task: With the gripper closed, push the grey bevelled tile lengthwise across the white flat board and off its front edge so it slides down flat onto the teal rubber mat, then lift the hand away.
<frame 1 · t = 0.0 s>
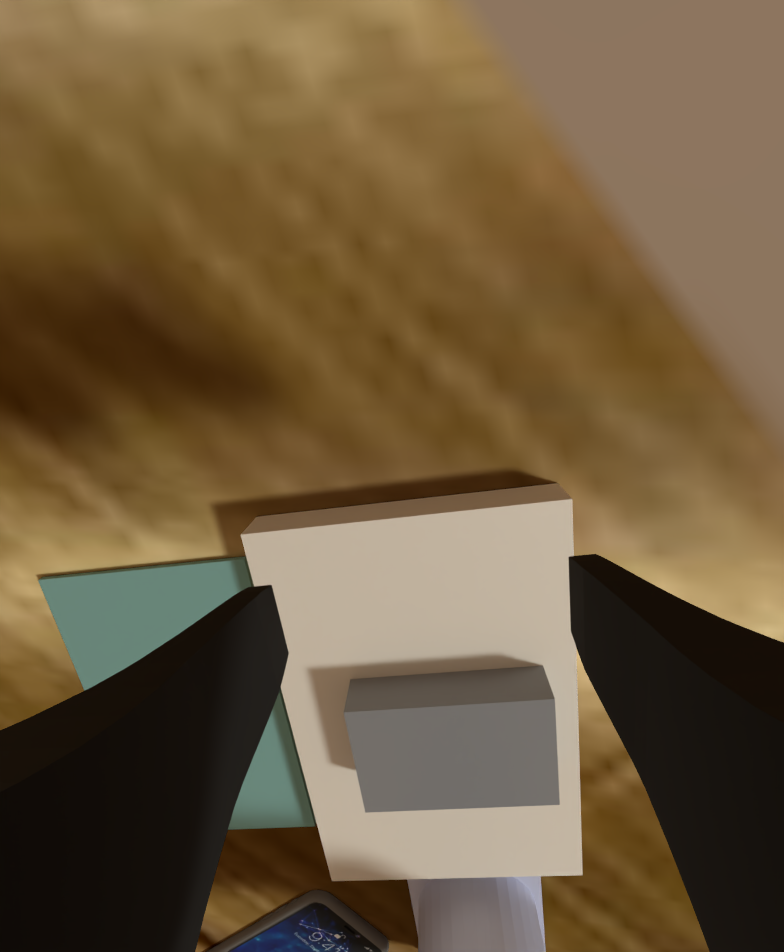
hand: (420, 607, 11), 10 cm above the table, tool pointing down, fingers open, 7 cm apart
grey bevelled tile: (451, 722, 22), point 2 cm above the table, touching white flat board
smartphone: (284, 946, 33), on the table
mat: (190, 709, 26), on the table
white flat board: (430, 693, 24), on the table
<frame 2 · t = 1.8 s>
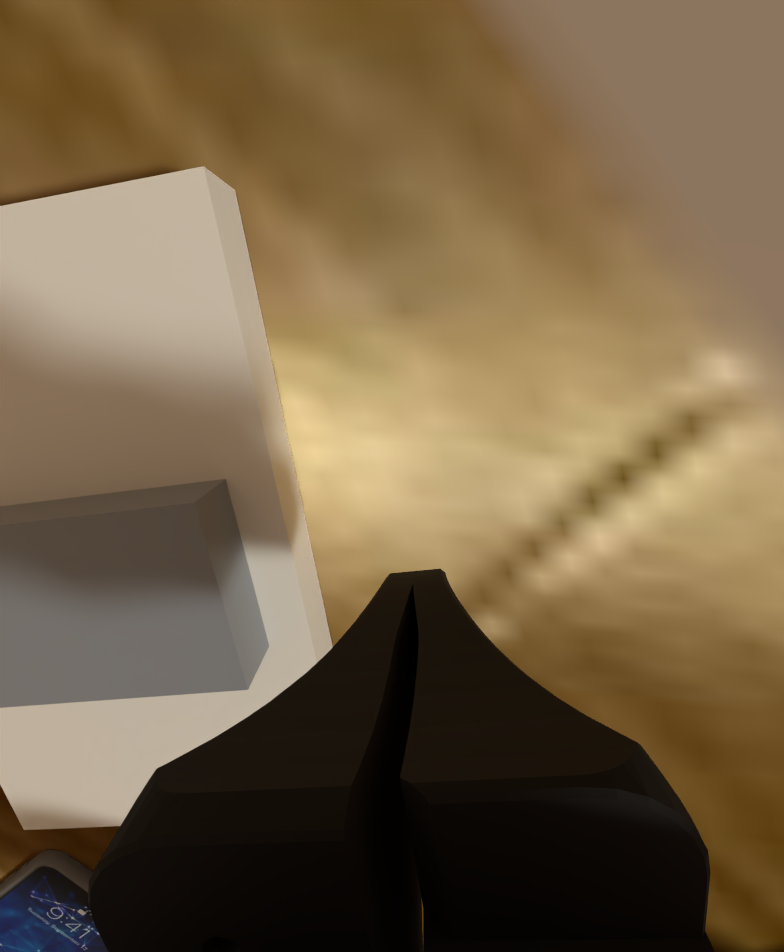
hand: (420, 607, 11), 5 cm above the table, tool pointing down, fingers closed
grey bevelled tile: (118, 580, 15), point 2 cm above the table, touching white flat board
smartphone: (38, 928, 25), on the table
white flat board: (127, 555, 17), on the table
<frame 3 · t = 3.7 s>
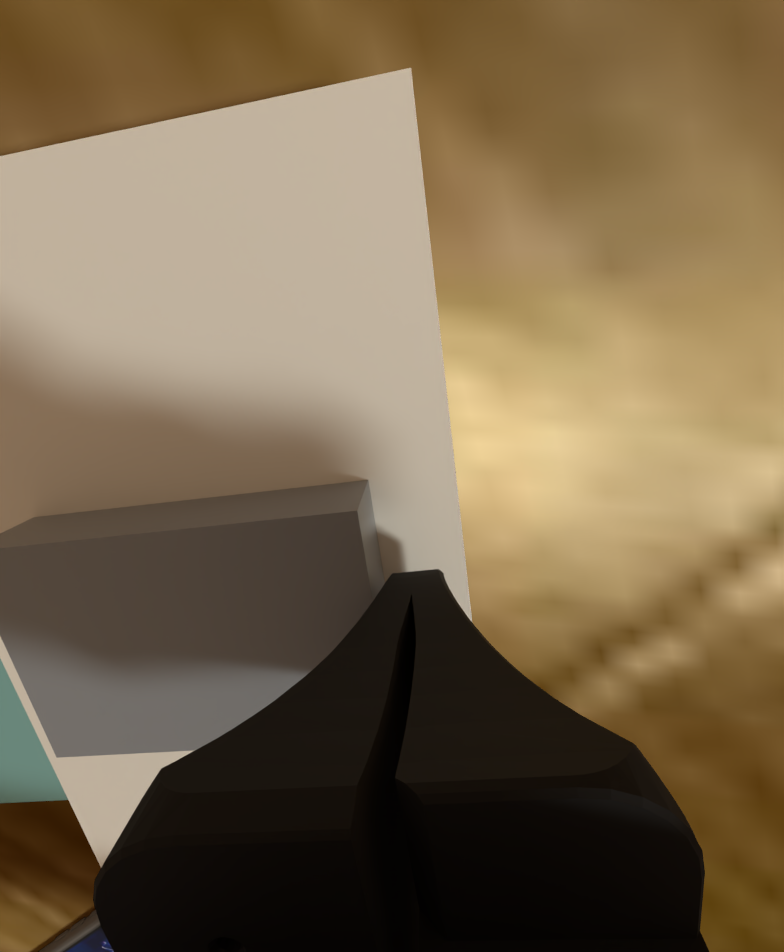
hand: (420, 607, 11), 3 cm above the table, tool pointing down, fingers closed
grey bevelled tile: (223, 601, 13), point 2 cm above the table, touching white flat board, gripper
white flat board: (239, 568, 14), on the table
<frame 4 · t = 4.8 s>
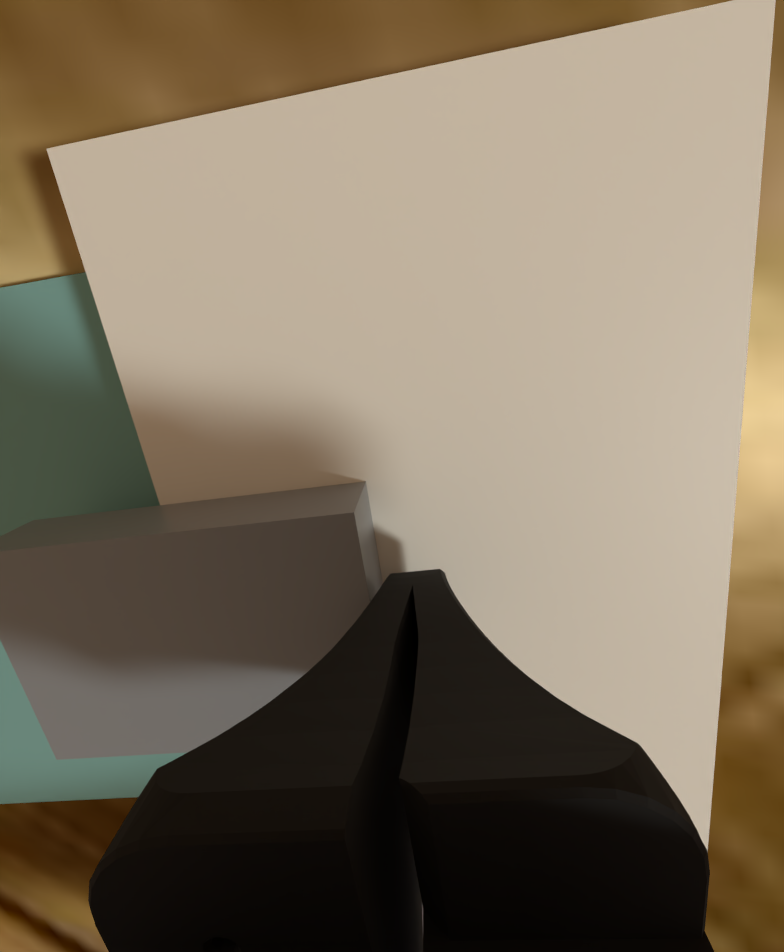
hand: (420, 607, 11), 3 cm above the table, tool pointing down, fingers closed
grey bevelled tile: (222, 602, 13), point 2 cm above the table
mat: (38, 590, 15), on the table
white flat board: (442, 548, 14), on the table
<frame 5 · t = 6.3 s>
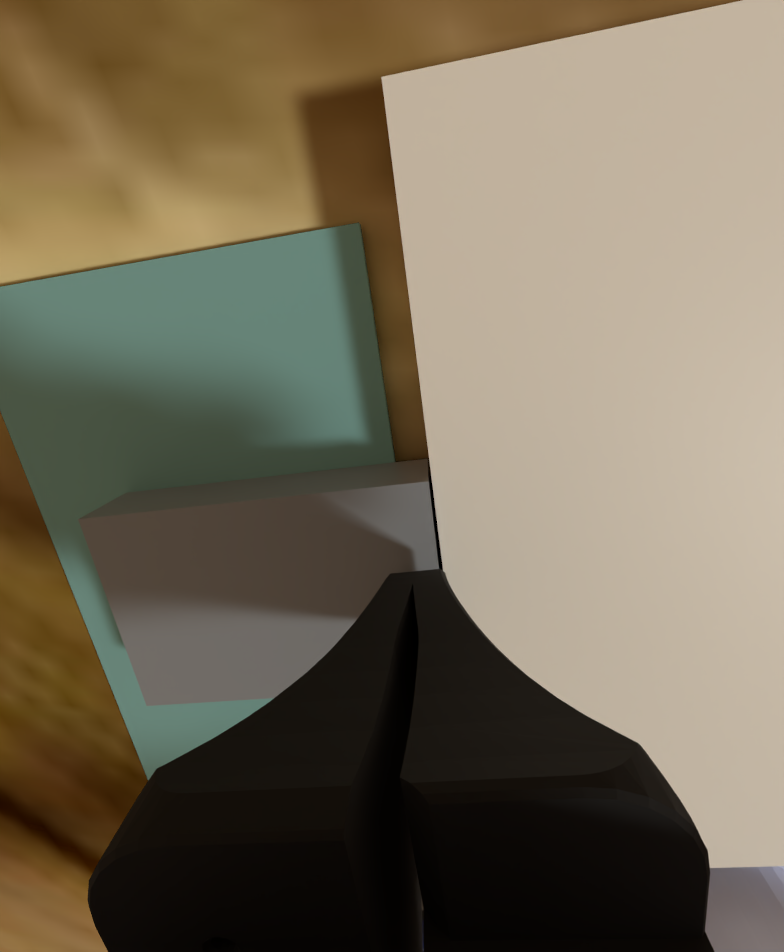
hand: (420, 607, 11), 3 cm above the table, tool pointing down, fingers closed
grey bevelled tile: (292, 568, 14), resting on mat
mat: (237, 569, 15), on the table
white flat board: (685, 523, 13), on the table
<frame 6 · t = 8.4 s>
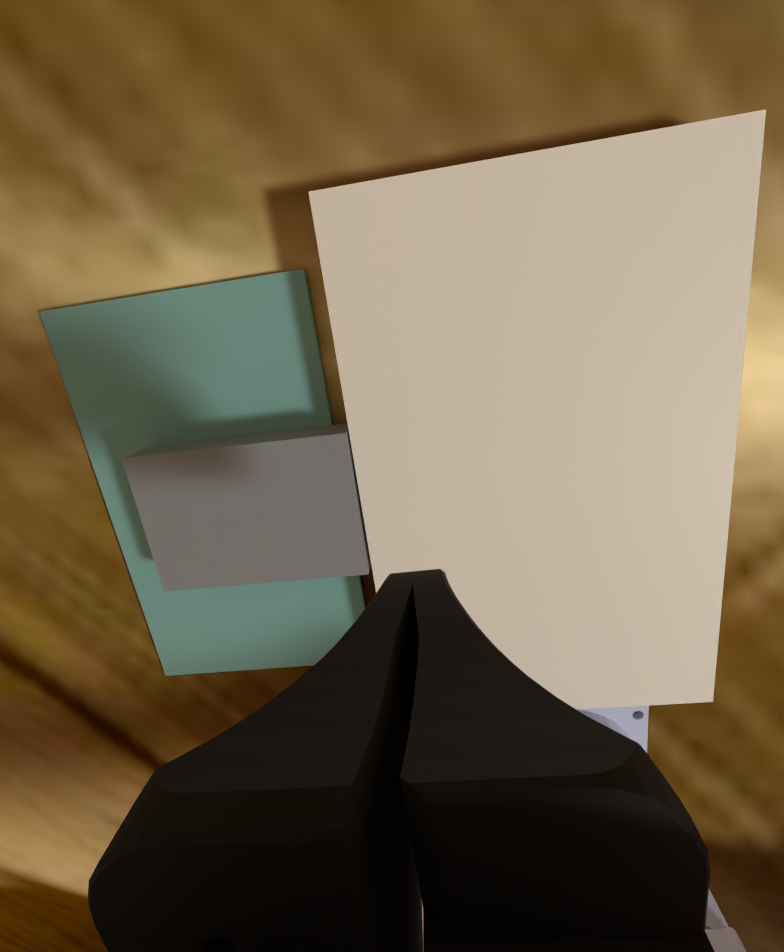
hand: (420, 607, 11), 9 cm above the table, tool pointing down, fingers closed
grey bevelled tile: (264, 500, 20), resting on mat
mat: (226, 501, 21), on the table
white flat board: (528, 468, 19), on the table
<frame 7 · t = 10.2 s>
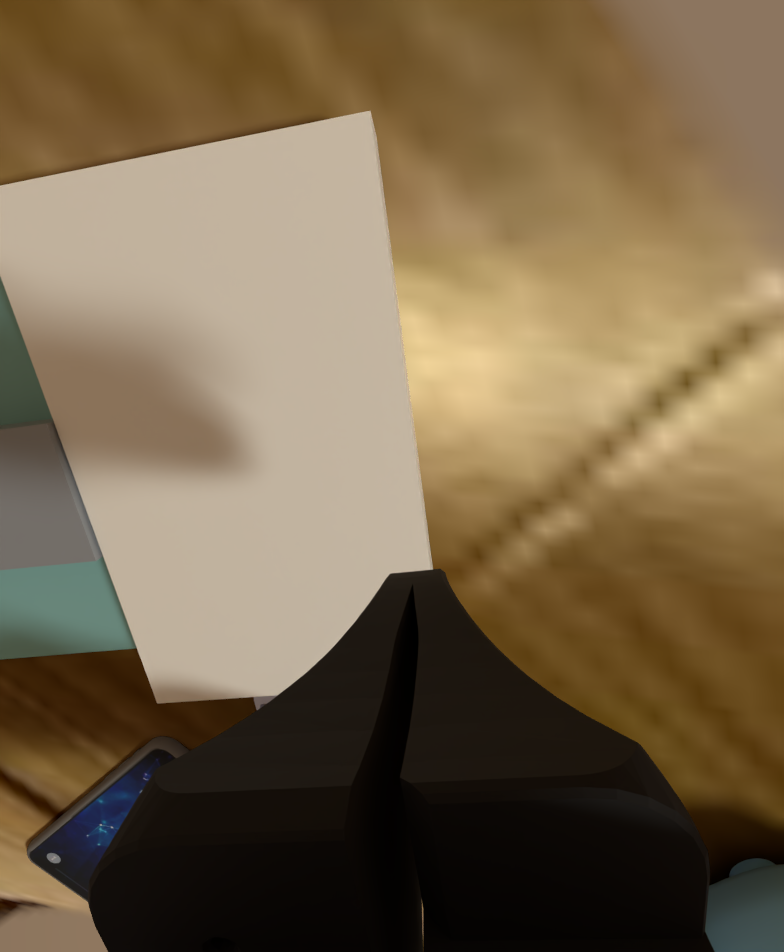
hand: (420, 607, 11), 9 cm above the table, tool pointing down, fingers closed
grey bevelled tile: (14, 490, 21), resting on mat
smartphone: (141, 818, 28), on the table
decorative pot: (748, 921, 27), on the table
white flat board: (257, 458, 20), on the table
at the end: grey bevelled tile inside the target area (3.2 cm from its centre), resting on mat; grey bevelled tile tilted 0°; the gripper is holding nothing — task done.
